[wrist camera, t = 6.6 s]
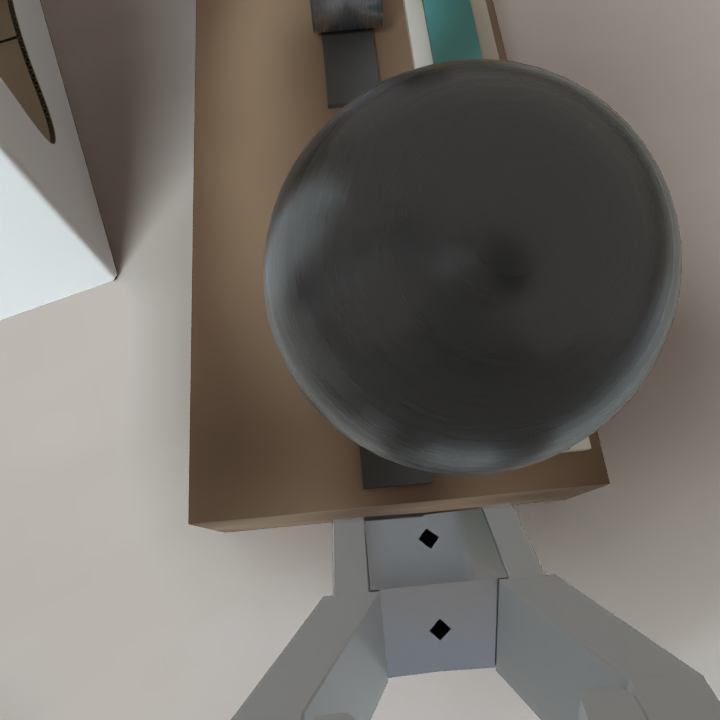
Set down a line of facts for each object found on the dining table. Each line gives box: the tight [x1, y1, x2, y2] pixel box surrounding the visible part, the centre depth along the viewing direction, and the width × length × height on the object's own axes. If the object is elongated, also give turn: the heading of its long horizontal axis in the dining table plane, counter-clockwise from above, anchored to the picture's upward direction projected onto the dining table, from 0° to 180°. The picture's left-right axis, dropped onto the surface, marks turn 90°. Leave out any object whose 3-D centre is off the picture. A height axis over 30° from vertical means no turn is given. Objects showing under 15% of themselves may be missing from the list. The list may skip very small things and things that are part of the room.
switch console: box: [189, 0, 610, 532], centre depth 22 cm, size 12×24×4 cm, turn 5°
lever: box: [263, 59, 682, 475], centre depth 10 cm, size 3×3×14 cm
